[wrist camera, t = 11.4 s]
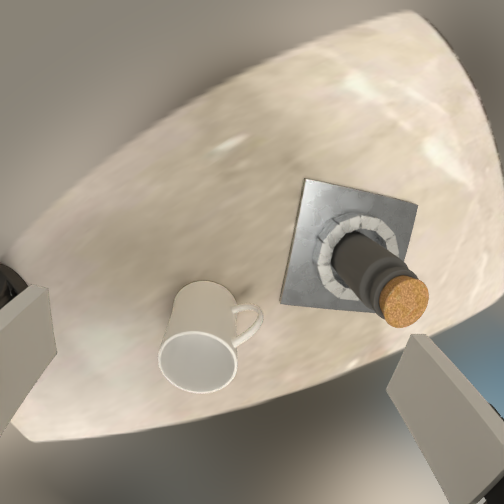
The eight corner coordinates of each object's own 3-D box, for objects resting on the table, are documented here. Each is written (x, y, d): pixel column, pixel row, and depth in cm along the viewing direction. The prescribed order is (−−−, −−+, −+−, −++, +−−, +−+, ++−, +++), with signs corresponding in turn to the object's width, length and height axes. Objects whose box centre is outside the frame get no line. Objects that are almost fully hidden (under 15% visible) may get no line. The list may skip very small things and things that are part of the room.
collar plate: (279, 300, 41) (283, 313, 38) (304, 178, 37) (311, 180, 33) (384, 310, 43) (394, 322, 40) (414, 203, 39) (428, 208, 35)
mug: (249, 263, 40) (256, 307, 28) (269, 319, 42) (281, 375, 31) (163, 291, 40) (140, 341, 29) (188, 343, 43) (177, 402, 31)
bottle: (358, 221, 38) (422, 259, 23) (377, 257, 39) (440, 308, 25) (320, 247, 38) (367, 300, 24) (341, 282, 40) (391, 345, 26)
